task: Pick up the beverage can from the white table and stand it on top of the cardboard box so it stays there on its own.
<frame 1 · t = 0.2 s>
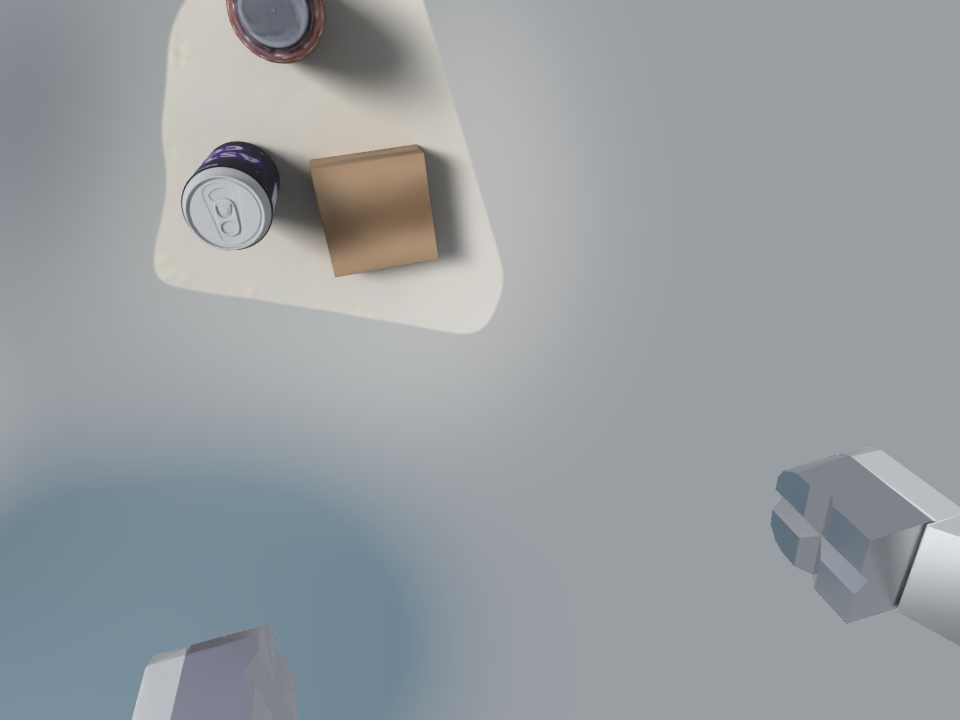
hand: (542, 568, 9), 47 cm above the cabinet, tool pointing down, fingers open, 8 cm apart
beverage can: (244, 175, 49), on the cabinet
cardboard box: (373, 204, 52), on the cabinet
supplement bottle: (283, 14, 44), on the cabinet
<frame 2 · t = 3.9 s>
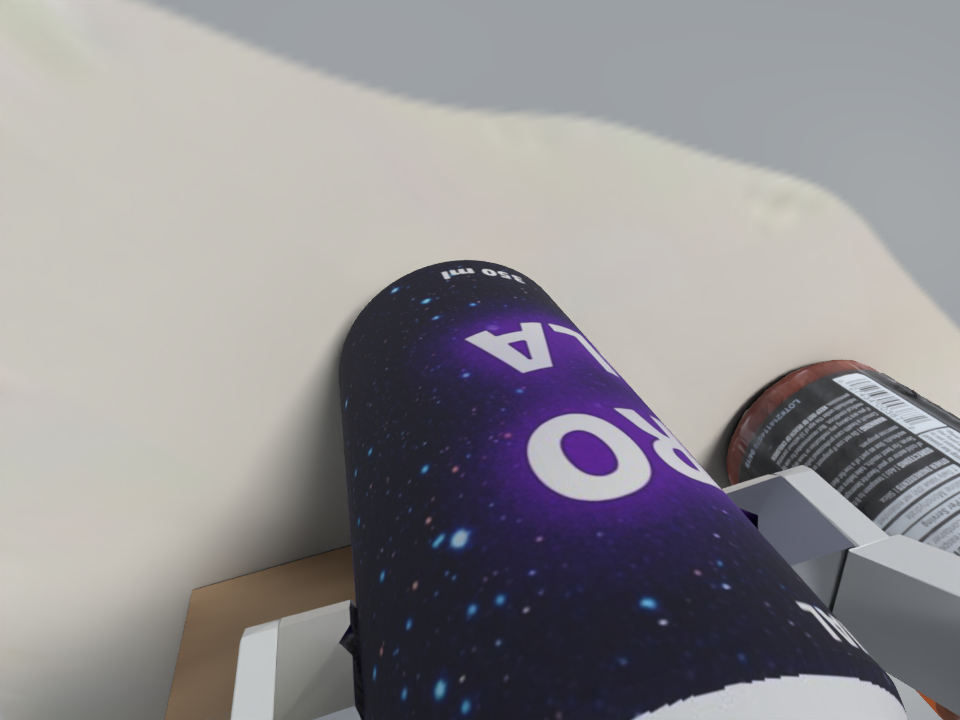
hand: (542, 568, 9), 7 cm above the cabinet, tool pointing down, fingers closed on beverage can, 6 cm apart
beverage can: (449, 350, 15), on the cabinet, touching gripper
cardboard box: (383, 638, 20), on the cabinet
supplement bottle: (793, 426, 20), on the cabinet
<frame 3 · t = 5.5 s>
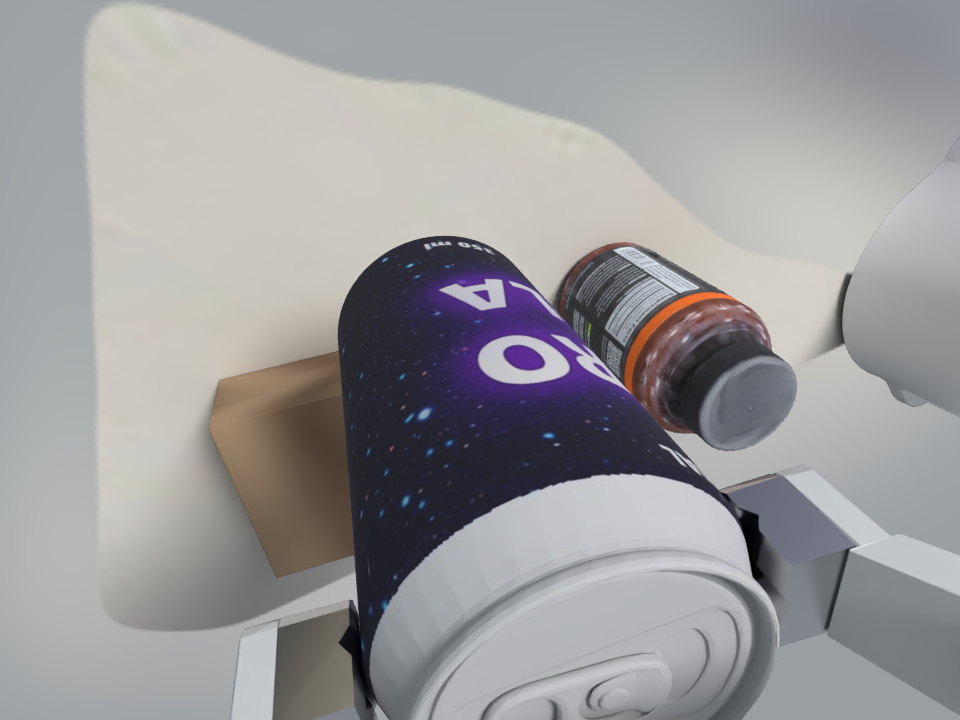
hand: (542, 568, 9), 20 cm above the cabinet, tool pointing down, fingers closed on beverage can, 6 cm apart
beverage can: (433, 318, 18), point 10 cm above the cabinet, touching gripper
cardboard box: (341, 431, 30), on the cabinet
supplement bottle: (607, 292, 31), on the cabinet
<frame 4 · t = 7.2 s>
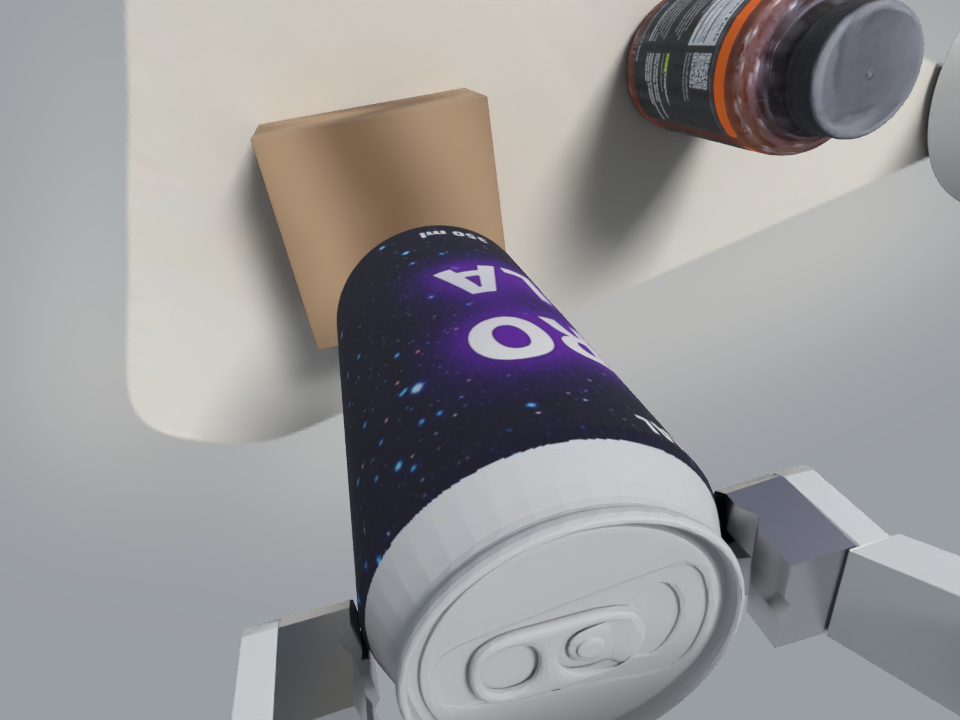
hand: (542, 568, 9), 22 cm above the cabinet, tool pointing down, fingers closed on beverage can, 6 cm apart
beverage can: (429, 306, 18), point 11 cm above the cabinet, touching gripper
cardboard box: (386, 207, 28), on the cabinet
supplement bottle: (677, 61, 28), on the cabinet
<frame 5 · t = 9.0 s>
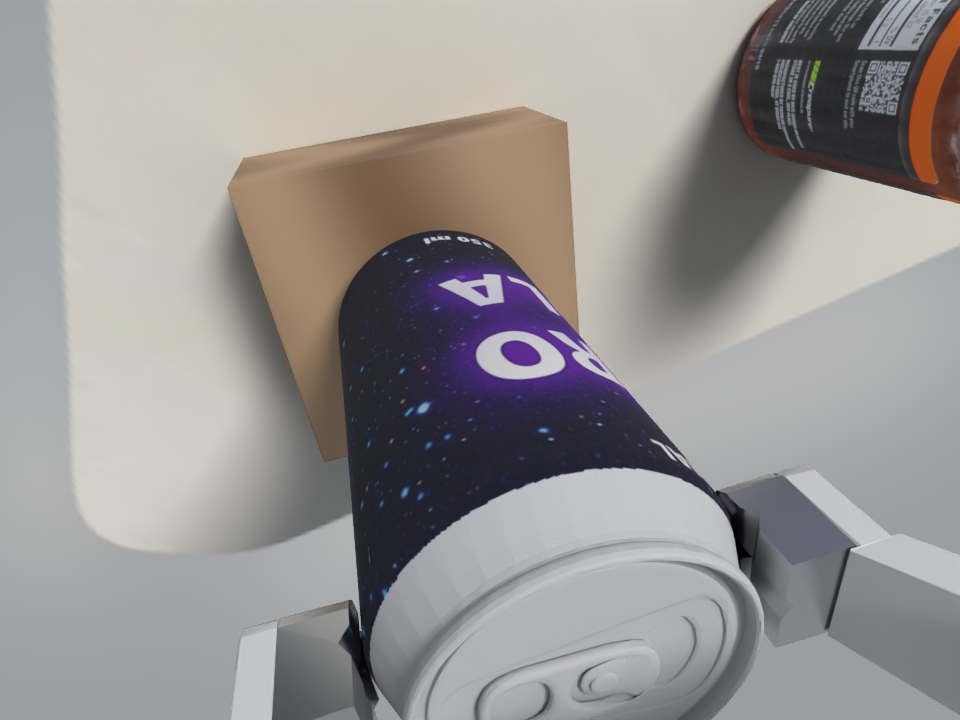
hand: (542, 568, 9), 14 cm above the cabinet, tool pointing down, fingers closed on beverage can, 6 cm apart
beverage can: (433, 311, 18), point 4 cm above the cabinet, touching gripper, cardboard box
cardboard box: (414, 263, 21), on the cabinet
supplement bottle: (800, 68, 21), on the cabinet
when the fingers open (14 cm above the cabinet, at t = 9.8 s): beverage can stays where it is, resting on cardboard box.
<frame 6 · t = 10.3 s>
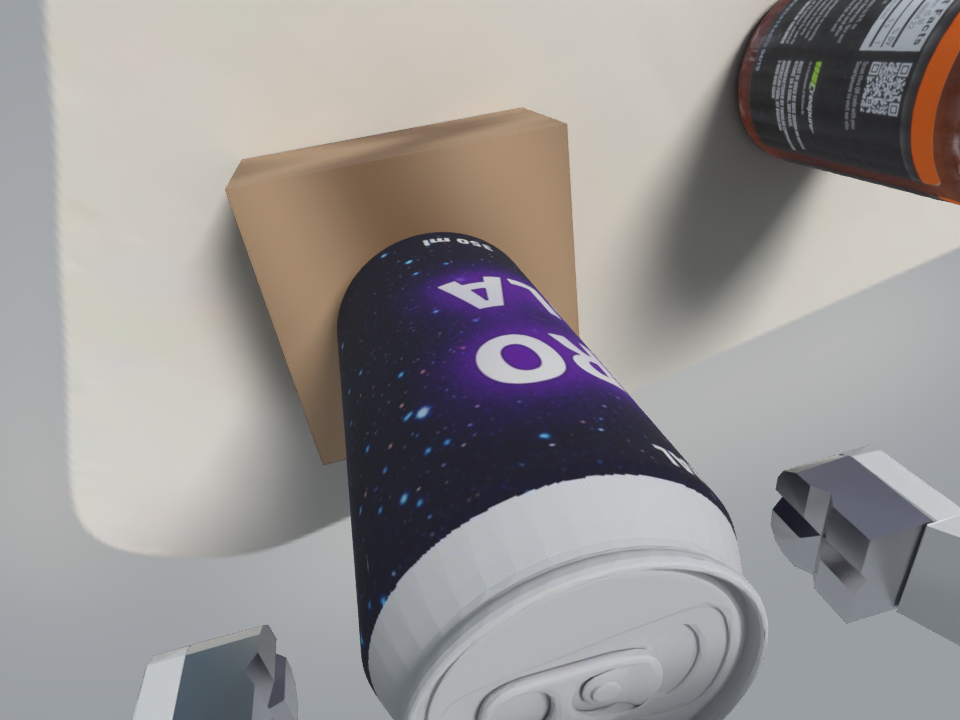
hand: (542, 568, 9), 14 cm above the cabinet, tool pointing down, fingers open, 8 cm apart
beverage can: (432, 313, 18), point 4 cm above the cabinet, touching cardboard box
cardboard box: (414, 265, 21), on the cabinet
supplement bottle: (800, 69, 21), on the cabinet
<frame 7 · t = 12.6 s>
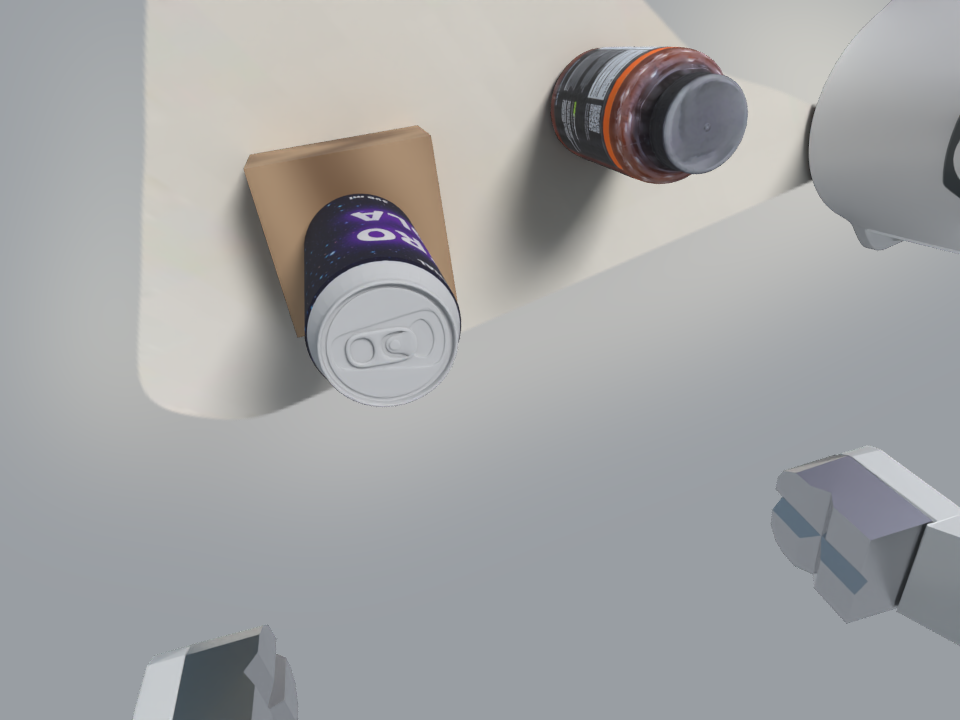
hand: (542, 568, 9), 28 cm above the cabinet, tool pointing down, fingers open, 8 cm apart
beverage can: (360, 243, 31), point 4 cm above the cabinet, touching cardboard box
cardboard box: (355, 221, 34), on the cabinet
supplement bottle: (593, 103, 35), on the cabinet
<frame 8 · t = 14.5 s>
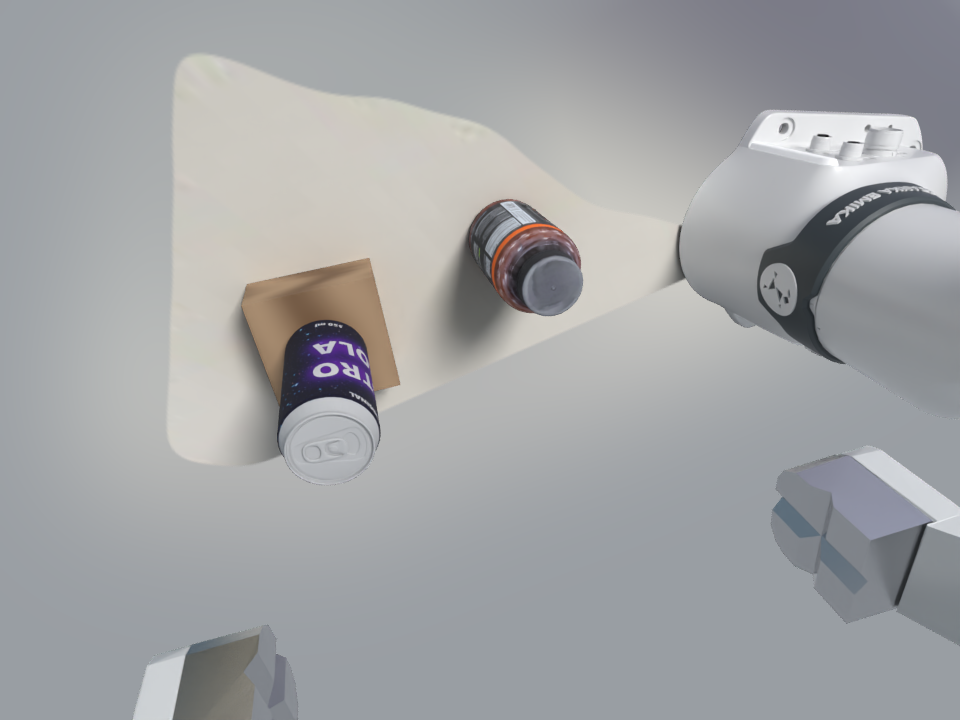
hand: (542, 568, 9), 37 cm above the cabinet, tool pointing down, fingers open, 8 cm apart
beverage can: (326, 349, 43), point 4 cm above the cabinet, touching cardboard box
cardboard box: (325, 324, 46), on the cabinet
supplement bottle: (503, 234, 46), on the cabinet
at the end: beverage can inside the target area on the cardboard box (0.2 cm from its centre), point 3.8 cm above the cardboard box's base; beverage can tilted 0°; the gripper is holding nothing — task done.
